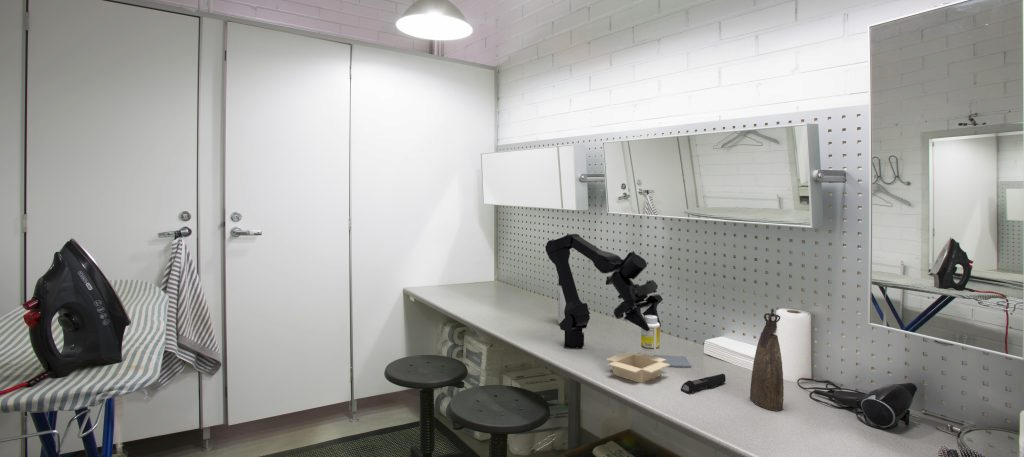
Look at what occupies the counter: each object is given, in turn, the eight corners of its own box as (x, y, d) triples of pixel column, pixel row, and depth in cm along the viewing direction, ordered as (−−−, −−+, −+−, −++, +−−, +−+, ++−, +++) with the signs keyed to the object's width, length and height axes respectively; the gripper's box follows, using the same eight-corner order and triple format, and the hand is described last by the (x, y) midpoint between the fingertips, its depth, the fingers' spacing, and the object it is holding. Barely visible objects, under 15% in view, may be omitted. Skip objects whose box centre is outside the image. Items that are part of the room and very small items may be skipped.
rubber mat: (658, 366, 166) (658, 364, 166) (654, 356, 175) (654, 355, 175) (691, 368, 164) (691, 366, 164) (685, 357, 174) (685, 356, 174)
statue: (788, 403, 137) (788, 308, 134) (780, 413, 131) (780, 315, 128) (753, 395, 142) (752, 304, 140) (744, 405, 136) (743, 311, 134)
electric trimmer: (729, 386, 150) (729, 375, 150) (689, 395, 143) (690, 384, 143) (718, 382, 153) (718, 371, 153) (679, 391, 146) (679, 380, 146)
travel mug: (575, 323, 221) (575, 275, 219) (571, 327, 214) (571, 278, 213) (560, 322, 223) (560, 275, 221) (556, 326, 216) (556, 277, 215)
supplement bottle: (654, 345, 166) (655, 313, 165) (662, 351, 160) (663, 318, 159) (638, 346, 165) (638, 314, 164) (645, 352, 159) (645, 318, 158)
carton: (599, 374, 159) (599, 361, 159) (631, 362, 170) (631, 350, 170) (644, 388, 147) (644, 374, 147) (675, 375, 158) (675, 361, 158)
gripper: (622, 275, 157) (652, 319, 150) (658, 269, 169) (688, 309, 162) (601, 297, 164) (629, 340, 157) (637, 289, 176) (665, 328, 169)
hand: (654, 328), depth 161 cm, fingers closed on supplement bottle, 6 cm apart
